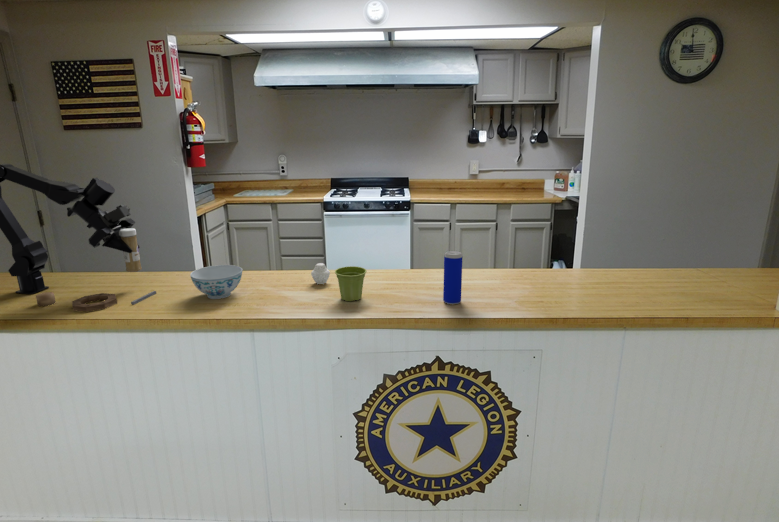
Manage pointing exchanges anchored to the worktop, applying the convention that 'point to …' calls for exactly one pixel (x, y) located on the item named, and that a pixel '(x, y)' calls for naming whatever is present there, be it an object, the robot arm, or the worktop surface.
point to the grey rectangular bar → (143, 297)
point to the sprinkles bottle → (132, 258)
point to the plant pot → (350, 282)
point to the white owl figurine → (320, 273)
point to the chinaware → (217, 280)
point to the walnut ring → (81, 306)
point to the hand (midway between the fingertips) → (135, 250)
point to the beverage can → (452, 277)
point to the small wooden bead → (45, 299)
